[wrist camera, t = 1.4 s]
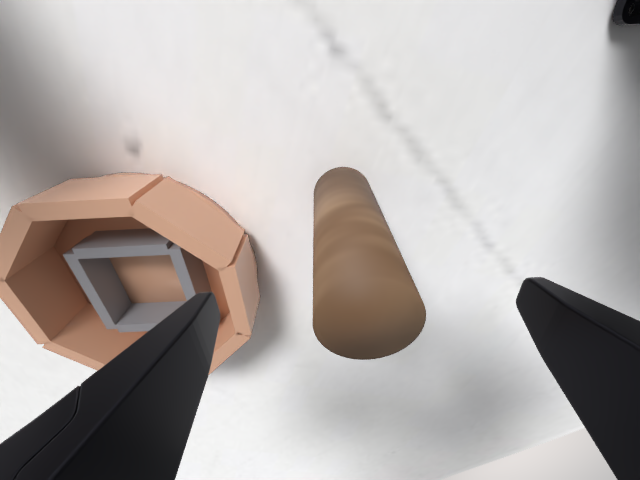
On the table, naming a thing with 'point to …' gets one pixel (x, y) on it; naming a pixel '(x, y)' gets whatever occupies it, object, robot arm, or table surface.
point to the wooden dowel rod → (359, 273)
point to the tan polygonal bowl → (123, 264)
